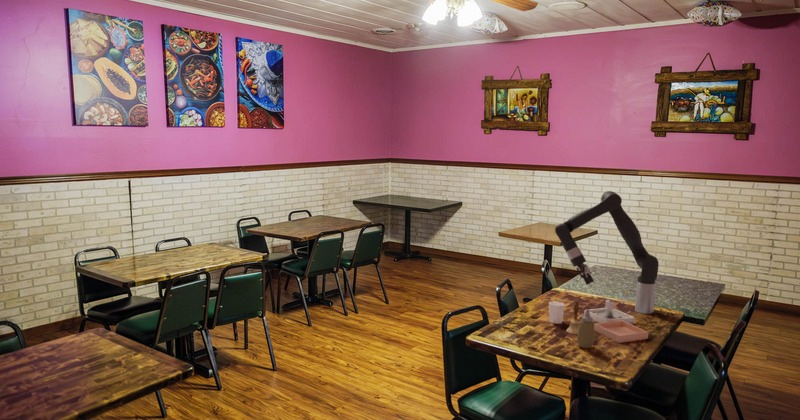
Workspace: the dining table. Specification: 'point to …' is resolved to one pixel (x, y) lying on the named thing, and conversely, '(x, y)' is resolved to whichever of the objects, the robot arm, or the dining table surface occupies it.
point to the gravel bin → (599, 317)
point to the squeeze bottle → (586, 331)
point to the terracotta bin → (620, 331)
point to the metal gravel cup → (609, 308)
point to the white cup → (556, 312)
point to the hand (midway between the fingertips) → (590, 282)
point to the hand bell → (574, 321)
